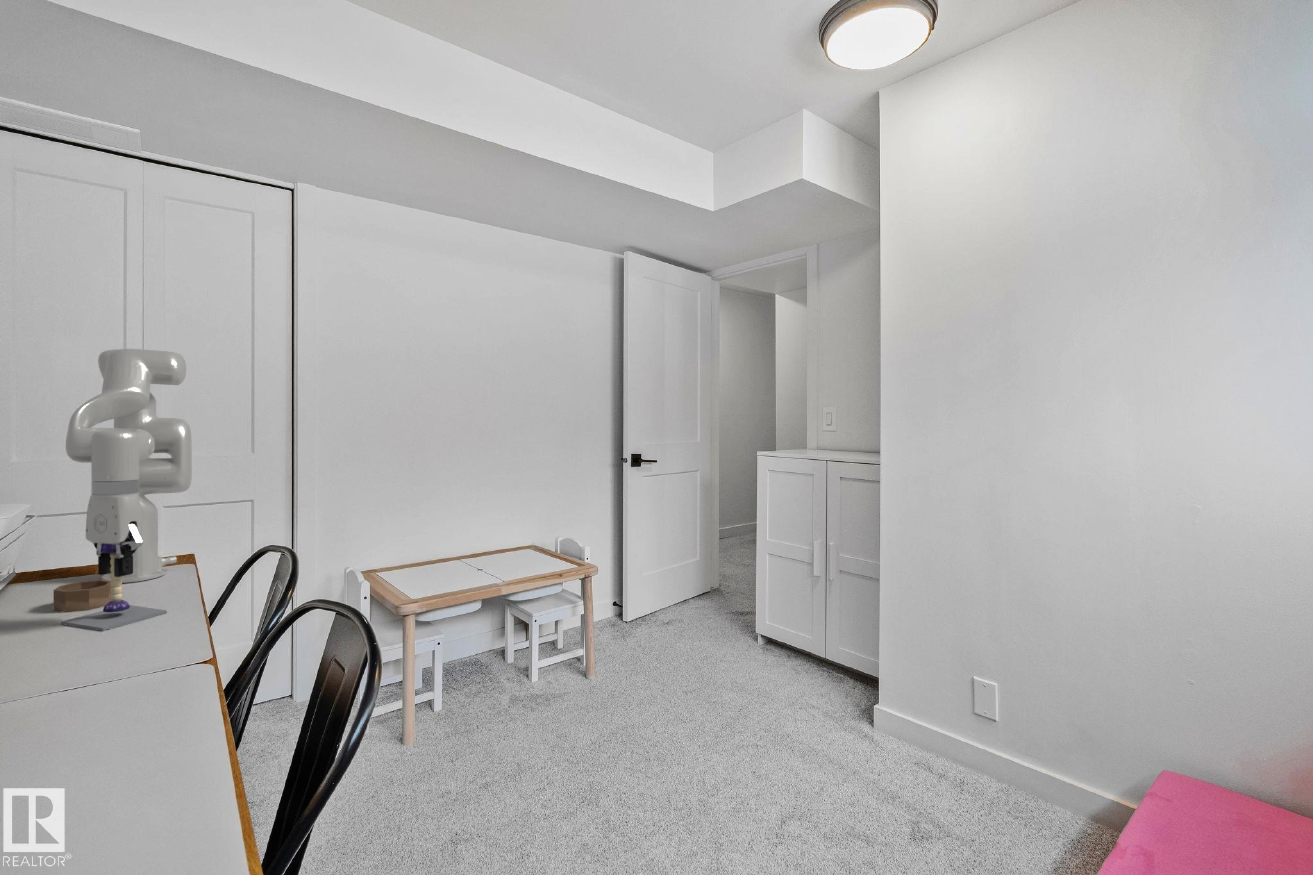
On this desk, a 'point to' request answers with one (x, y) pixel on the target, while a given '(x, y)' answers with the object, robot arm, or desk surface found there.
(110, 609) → the toy lamp
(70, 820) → the desk surface
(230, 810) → the desk surface
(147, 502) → the robot arm
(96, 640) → the desk surface
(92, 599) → the holder ring
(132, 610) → the mat
